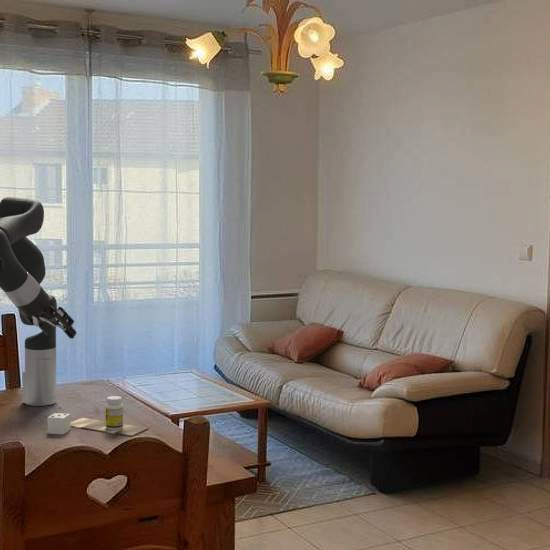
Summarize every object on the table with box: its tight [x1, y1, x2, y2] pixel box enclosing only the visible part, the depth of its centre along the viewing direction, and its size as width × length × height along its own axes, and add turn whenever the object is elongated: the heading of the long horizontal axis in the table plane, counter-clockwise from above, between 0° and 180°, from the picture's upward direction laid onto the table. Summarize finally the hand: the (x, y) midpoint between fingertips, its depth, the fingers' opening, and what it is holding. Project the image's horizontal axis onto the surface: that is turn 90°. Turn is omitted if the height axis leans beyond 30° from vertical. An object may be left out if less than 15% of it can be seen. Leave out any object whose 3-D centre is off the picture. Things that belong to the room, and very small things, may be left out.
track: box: [70, 417, 149, 438], centre depth 224 cm, size 22×8×1 cm, turn 66°
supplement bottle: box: [105, 395, 124, 430], centre depth 223 cm, size 5×5×8 cm
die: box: [47, 412, 71, 435], centre depth 219 cm, size 4×4×5 cm
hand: (61, 334), depth 206 cm, fingers open, 8 cm apart
